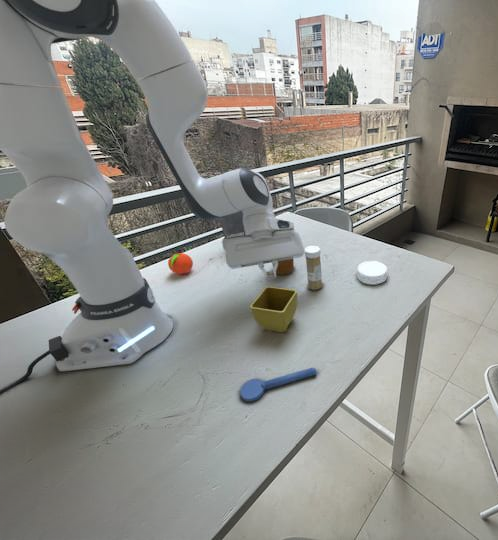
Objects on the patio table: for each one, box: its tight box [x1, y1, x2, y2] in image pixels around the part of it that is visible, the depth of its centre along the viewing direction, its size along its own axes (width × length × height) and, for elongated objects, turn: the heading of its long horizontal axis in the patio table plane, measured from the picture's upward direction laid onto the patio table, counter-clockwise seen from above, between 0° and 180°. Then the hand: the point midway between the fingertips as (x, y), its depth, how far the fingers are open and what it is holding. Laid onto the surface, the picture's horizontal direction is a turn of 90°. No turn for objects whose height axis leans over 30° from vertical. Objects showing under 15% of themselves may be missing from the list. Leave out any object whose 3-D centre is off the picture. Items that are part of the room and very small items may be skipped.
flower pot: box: [249, 286, 298, 333], centre depth 72 cm, size 9×9×9 cm
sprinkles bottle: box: [304, 245, 323, 291], centre depth 86 cm, size 5×5×13 cm
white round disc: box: [356, 260, 388, 286], centre depth 94 cm, size 10×10×4 cm
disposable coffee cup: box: [271, 258, 295, 276], centre depth 94 cm, size 10×10×12 cm
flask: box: [219, 211, 246, 239], centre depth 108 cm, size 4×14×18 cm, turn 148°
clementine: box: [167, 252, 194, 275], centre depth 93 cm, size 8×7×7 cm
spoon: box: [239, 367, 317, 403], centre depth 60 cm, size 16×5×2 cm, turn 111°
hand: (271, 278), depth 76 cm, fingers closed
